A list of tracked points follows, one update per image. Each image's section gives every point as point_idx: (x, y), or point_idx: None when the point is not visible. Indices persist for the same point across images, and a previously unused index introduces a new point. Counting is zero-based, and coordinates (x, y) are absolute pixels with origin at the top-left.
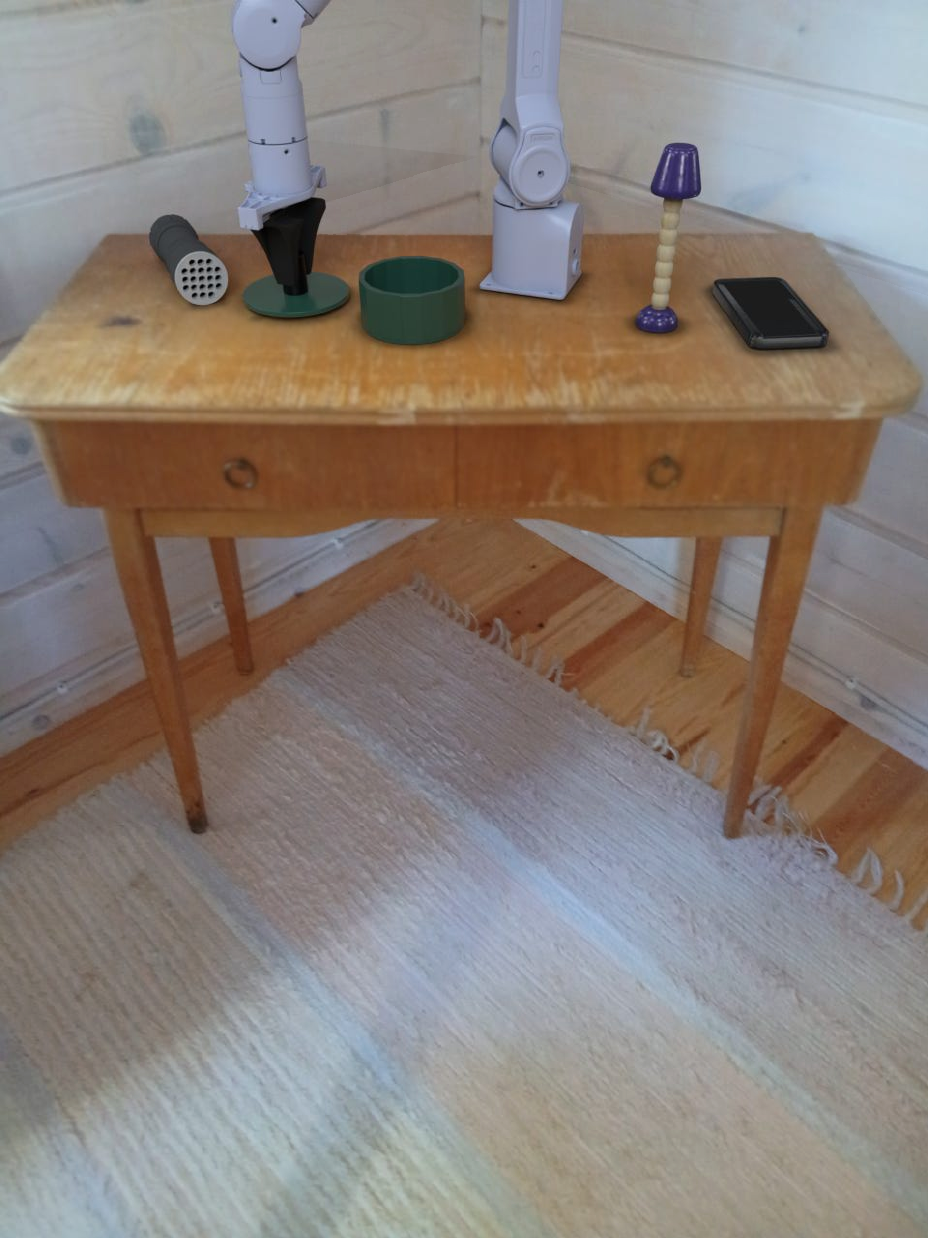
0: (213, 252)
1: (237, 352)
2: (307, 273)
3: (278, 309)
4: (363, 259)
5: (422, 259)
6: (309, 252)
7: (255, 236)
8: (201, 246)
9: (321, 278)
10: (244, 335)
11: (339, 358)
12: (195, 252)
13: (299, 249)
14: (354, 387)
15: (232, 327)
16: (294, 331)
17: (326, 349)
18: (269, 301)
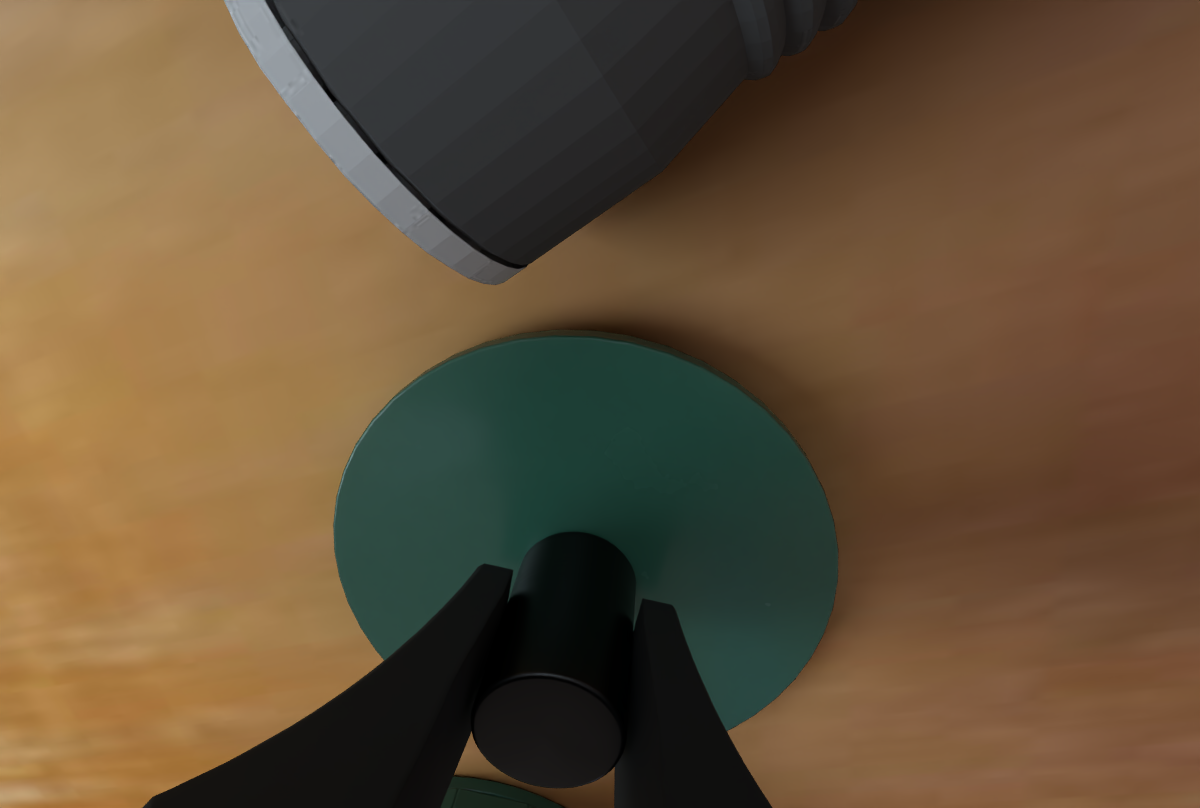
0: (579, 163)
1: (60, 442)
2: None
3: (364, 550)
4: (1101, 719)
5: None
6: (616, 791)
7: (259, 744)
8: (515, 64)
9: (743, 651)
10: (201, 426)
11: (173, 743)
12: (303, 88)
13: (630, 755)
14: (37, 791)
15: (251, 354)
16: (304, 593)
17: (214, 704)
18: (434, 496)
